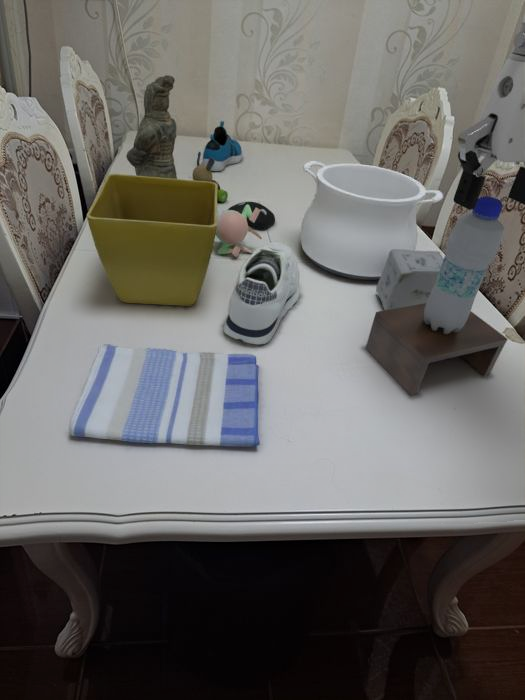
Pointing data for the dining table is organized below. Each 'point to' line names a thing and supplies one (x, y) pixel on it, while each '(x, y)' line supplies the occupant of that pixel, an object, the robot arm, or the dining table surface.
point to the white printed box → (408, 277)
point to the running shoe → (263, 294)
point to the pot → (360, 218)
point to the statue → (155, 133)
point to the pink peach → (235, 229)
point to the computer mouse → (264, 217)
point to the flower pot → (155, 236)
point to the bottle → (465, 265)
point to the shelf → (429, 344)
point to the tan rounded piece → (208, 177)
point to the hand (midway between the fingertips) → (491, 203)
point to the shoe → (222, 149)
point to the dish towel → (169, 398)
